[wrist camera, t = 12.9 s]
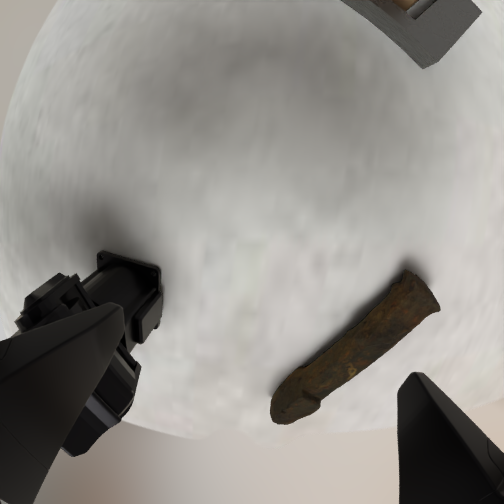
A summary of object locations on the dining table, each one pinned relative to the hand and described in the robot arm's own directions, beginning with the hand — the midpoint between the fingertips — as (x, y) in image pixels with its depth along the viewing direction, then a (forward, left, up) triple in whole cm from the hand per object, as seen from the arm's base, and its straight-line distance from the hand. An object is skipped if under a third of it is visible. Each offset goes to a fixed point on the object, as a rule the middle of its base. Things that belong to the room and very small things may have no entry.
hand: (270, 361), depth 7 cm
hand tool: (+8, -10, -14) cm, 19 cm away
